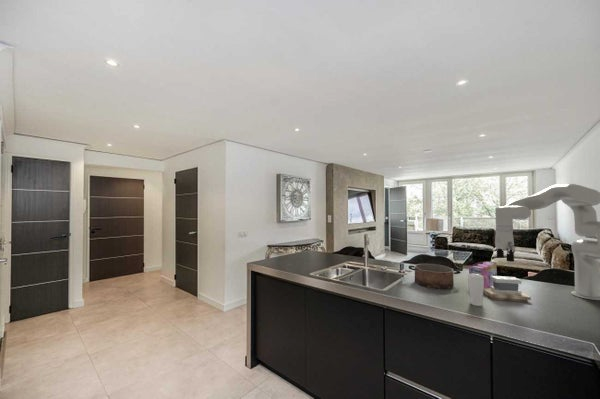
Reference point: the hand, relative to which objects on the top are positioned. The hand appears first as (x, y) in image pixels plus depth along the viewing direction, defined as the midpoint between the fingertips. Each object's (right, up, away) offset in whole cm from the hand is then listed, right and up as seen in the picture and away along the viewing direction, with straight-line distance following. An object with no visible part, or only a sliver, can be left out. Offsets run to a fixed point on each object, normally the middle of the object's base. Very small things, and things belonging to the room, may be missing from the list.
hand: (505, 259), depth 142 cm
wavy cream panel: (0, -21, 0) cm, 21 cm away
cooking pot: (-27, -22, +24) cm, 43 cm away
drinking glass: (-23, -21, -10) cm, 33 cm away
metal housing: (0, -18, 0) cm, 18 cm away
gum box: (+3, -22, +21) cm, 30 cm away
